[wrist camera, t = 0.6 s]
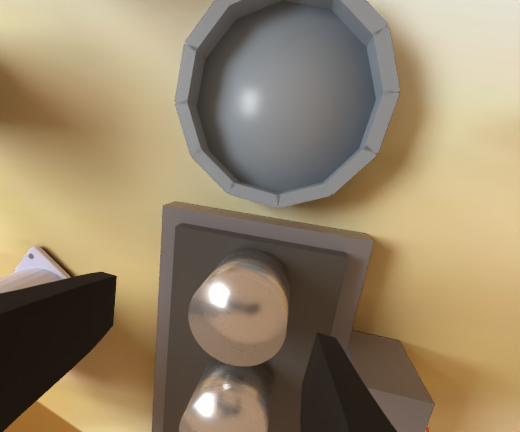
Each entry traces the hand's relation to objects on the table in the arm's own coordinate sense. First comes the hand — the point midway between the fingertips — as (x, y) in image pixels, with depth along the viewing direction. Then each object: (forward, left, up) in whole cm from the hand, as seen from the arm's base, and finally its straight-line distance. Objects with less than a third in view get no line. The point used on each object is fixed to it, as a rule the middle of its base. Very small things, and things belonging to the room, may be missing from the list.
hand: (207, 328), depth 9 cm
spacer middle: (-7, -6, -8) cm, 12 cm away
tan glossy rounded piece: (-1, -2, -8) cm, 8 cm away
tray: (+8, +5, -10) cm, 14 cm away
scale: (-6, -8, -10) cm, 14 cm away
